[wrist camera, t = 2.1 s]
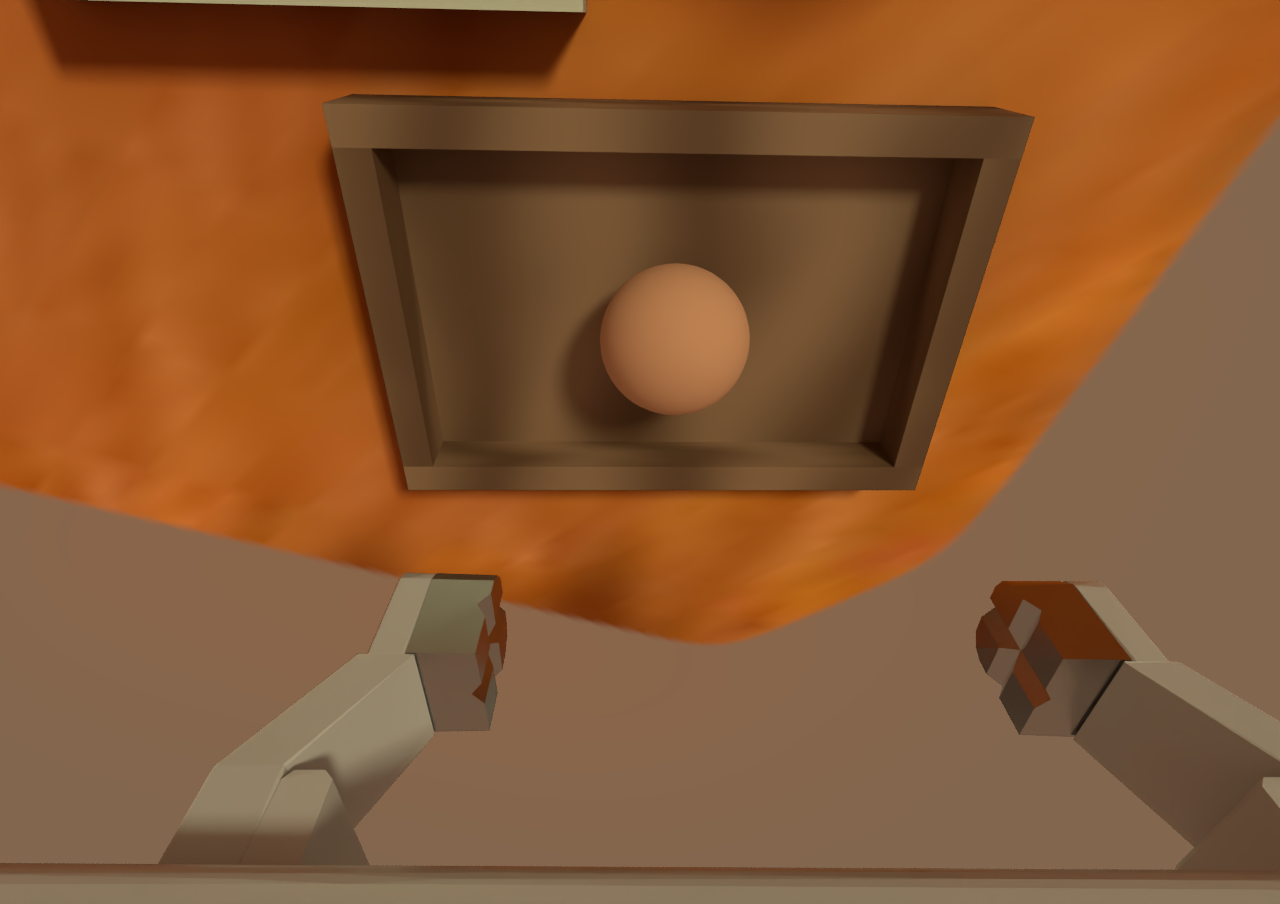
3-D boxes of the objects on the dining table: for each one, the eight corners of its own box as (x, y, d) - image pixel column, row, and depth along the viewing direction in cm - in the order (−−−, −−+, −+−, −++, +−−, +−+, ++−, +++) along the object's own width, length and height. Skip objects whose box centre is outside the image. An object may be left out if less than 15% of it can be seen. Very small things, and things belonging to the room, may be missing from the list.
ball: (602, 373, 22) (599, 443, 19) (600, 242, 20) (596, 294, 16) (730, 373, 22) (752, 444, 19) (744, 244, 20) (772, 296, 16)
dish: (424, 454, 25) (408, 489, 23) (352, 94, 18) (321, 103, 16) (893, 455, 25) (914, 490, 23) (993, 107, 19) (1034, 117, 17)
